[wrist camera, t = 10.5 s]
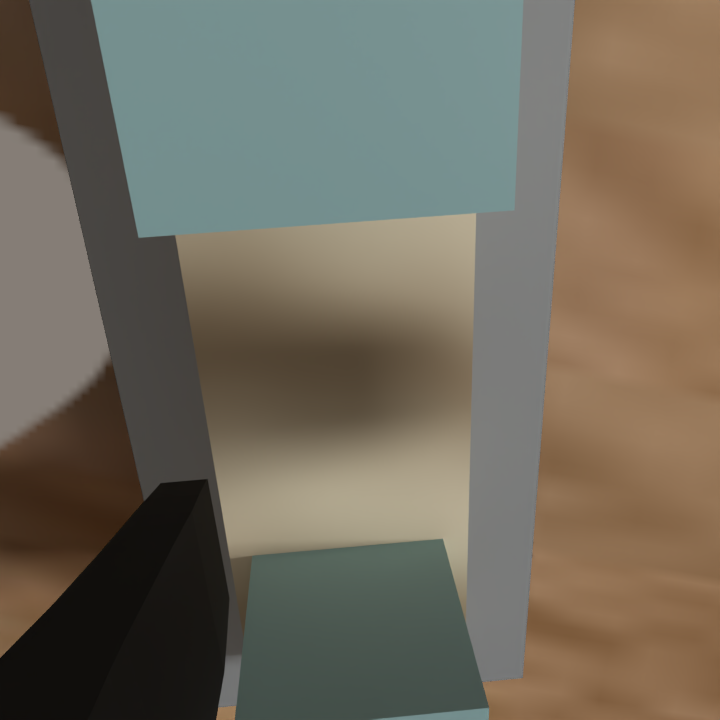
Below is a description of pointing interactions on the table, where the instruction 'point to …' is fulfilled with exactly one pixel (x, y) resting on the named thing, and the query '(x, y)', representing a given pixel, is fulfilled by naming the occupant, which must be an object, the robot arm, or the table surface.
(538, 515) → the table surface
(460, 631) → the block
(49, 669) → the robot arm
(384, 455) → the beige bar
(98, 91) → the loading dock
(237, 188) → the block
